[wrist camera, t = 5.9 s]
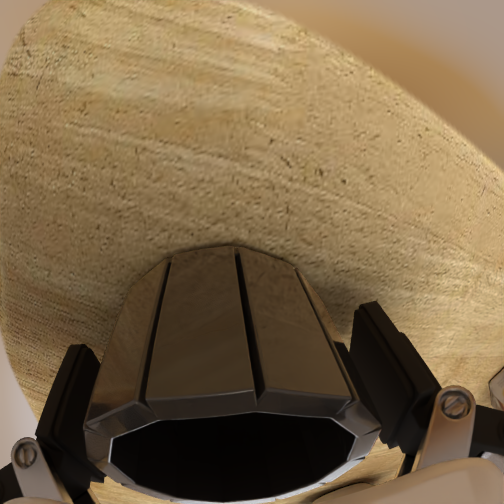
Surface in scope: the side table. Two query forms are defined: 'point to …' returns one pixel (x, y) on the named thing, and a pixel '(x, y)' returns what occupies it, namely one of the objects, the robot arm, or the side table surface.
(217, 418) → the dark brown hollow cylinder
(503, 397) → the coffee box
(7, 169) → the side table surface
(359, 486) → the teacup
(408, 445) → the robot arm
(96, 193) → the side table surface
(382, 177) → the side table surface
